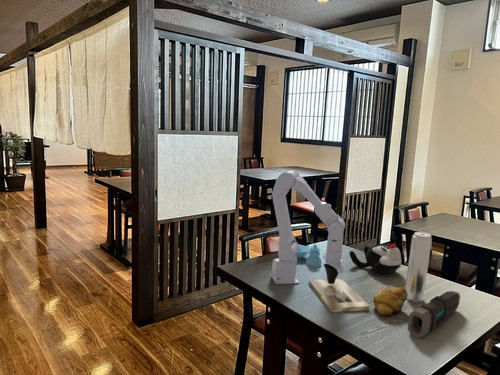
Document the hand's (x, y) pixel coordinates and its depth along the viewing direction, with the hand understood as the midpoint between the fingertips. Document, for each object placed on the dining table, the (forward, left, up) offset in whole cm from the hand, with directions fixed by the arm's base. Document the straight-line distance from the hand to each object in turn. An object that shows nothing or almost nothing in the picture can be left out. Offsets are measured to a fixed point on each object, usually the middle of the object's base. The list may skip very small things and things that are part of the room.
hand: (330, 283), depth 138 cm
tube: (+26, -26, -3) cm, 37 cm away
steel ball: (0, -10, 0) cm, 10 cm away
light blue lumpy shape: (0, +30, -3) cm, 30 cm away
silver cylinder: (+29, -10, -3) cm, 31 cm away
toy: (+29, +17, -3) cm, 34 cm away
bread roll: (+14, -17, -3) cm, 22 cm away
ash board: (0, -6, -2) cm, 6 cm away
